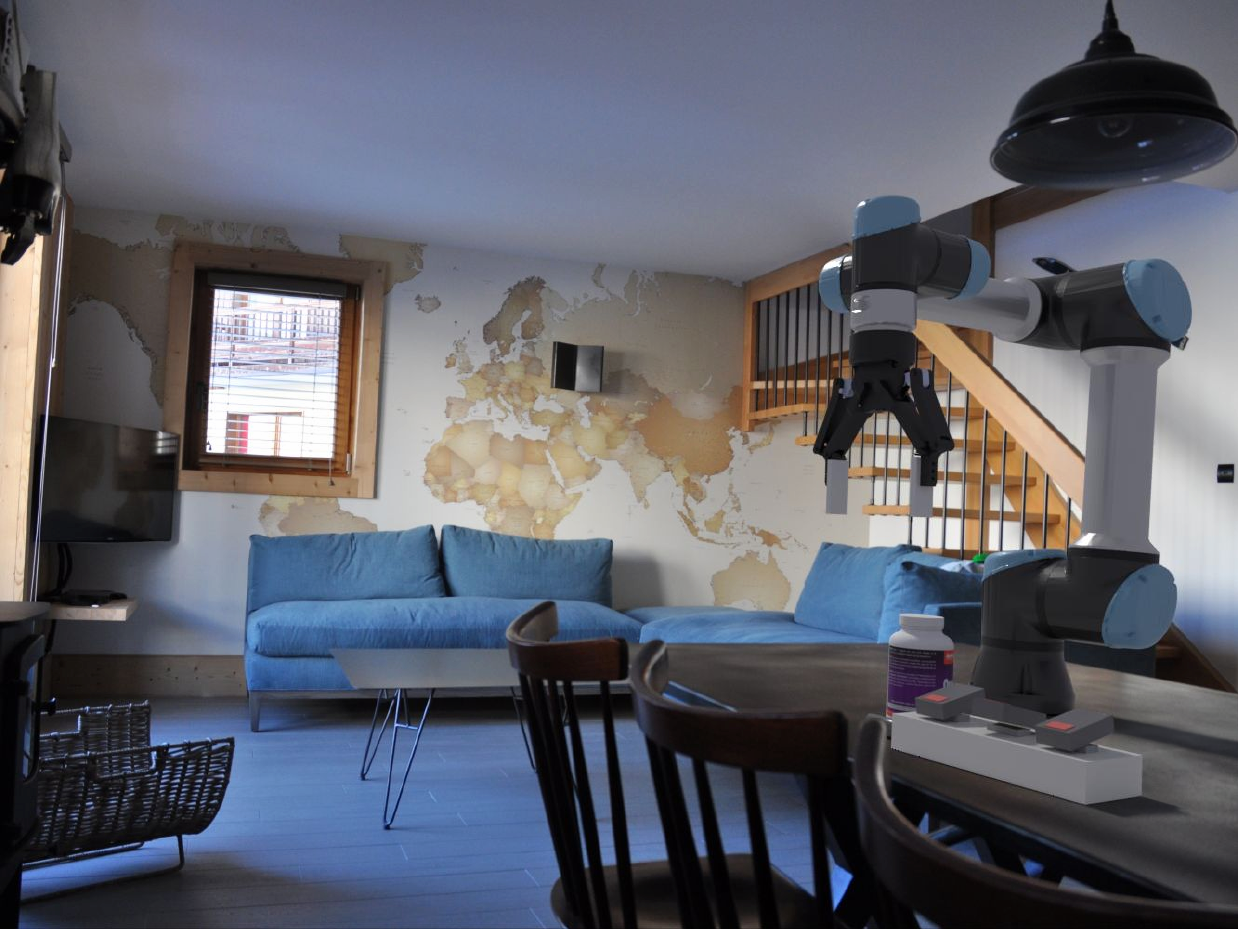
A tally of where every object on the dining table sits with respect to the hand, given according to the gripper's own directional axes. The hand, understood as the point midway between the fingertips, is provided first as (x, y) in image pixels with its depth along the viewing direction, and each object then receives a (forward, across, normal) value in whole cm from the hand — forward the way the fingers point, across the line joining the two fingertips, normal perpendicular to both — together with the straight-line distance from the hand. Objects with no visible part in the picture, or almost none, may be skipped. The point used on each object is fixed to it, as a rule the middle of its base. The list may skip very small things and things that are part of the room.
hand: (876, 515), depth 121 cm
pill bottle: (+27, -8, +16) cm, 32 cm away
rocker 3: (+21, +20, +8) cm, 30 cm away
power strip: (+27, +8, +8) cm, 29 cm away
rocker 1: (+21, +4, +8) cm, 23 cm away
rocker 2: (+21, +12, +8) cm, 26 cm away
